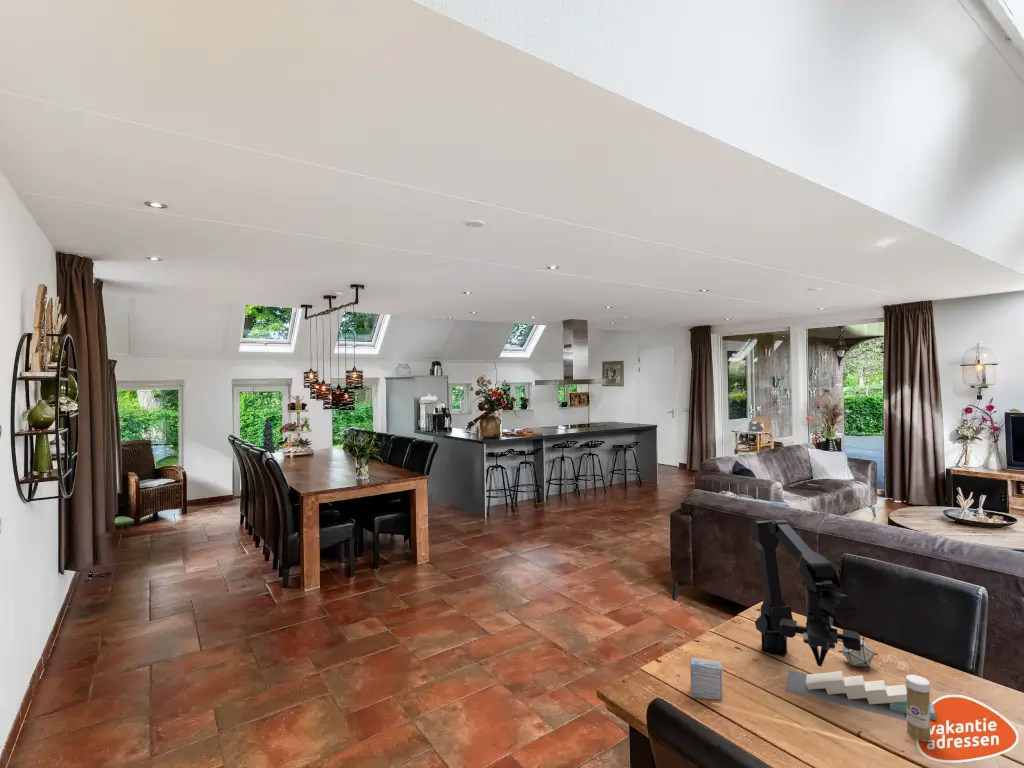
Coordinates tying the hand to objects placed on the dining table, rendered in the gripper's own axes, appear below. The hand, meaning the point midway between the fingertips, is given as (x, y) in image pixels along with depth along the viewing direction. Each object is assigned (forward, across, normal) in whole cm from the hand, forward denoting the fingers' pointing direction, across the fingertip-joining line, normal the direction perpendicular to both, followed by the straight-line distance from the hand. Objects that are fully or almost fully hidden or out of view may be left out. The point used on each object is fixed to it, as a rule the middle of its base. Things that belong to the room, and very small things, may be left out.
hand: (819, 665), depth 145 cm
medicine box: (+7, -26, -17) cm, 32 cm away
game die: (+7, +9, +19) cm, 22 cm away
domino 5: (+5, +15, 0) cm, 16 cm away
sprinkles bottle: (+7, +20, -11) cm, 24 cm away
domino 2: (+5, +2, 0) cm, 5 cm away
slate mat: (+6, +5, 0) cm, 8 cm away
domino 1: (+5, -3, 0) cm, 6 cm away
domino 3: (+5, +6, 0) cm, 8 cm away
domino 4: (+5, +11, 0) cm, 12 cm away
